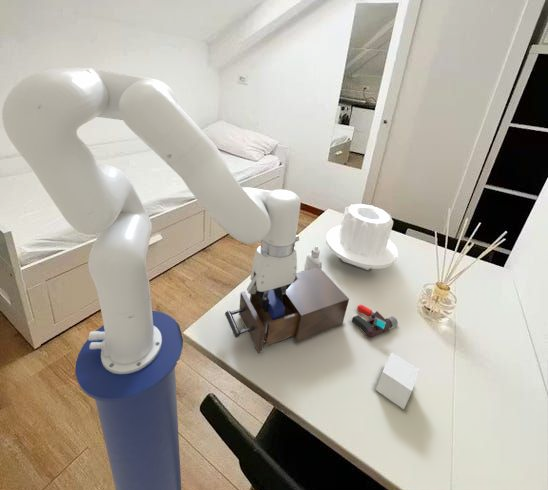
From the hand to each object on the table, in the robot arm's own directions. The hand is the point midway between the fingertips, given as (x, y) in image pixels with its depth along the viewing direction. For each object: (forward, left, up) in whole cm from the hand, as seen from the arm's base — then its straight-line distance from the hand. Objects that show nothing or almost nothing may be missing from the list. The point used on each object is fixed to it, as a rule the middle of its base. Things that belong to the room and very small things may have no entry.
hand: (270, 305), depth 72 cm
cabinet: (+11, +4, -8) cm, 14 cm away
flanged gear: (+36, +29, -8) cm, 47 cm away
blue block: (0, 0, 0) cm, 0 cm away
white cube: (+26, -17, -8) cm, 32 cm away
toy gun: (+29, +1, -8) cm, 30 cm away
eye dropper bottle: (+16, +19, -8) cm, 26 cm away
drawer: (-1, 0, -7) cm, 7 cm away
